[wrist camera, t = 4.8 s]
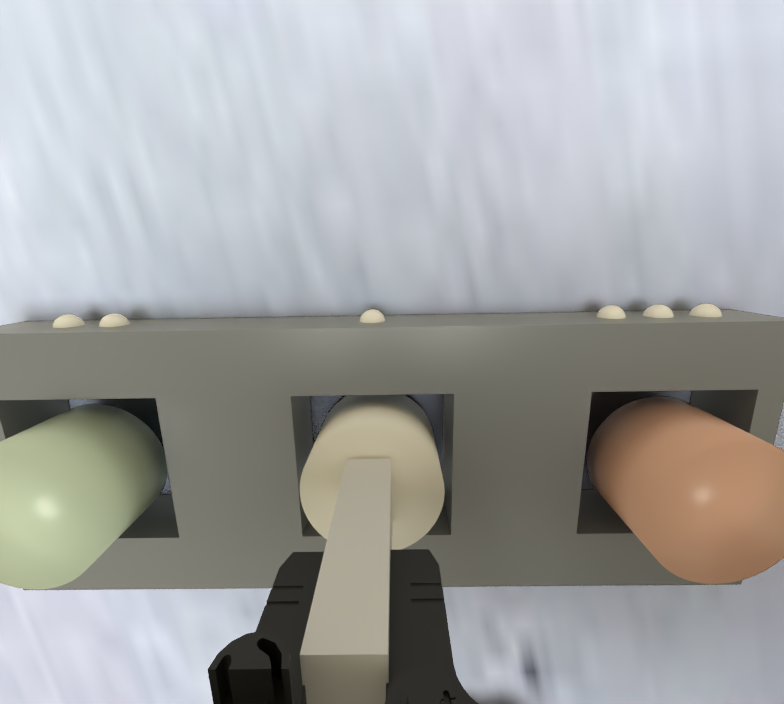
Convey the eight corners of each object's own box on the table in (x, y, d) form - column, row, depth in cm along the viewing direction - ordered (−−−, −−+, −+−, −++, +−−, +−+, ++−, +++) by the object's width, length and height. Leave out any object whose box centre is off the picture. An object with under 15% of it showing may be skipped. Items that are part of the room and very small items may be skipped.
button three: (723, 395, 15) (831, 440, 11) (701, 508, 16) (793, 583, 12) (593, 397, 15) (658, 442, 11) (580, 510, 16) (635, 584, 13)
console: (732, 298, 16) (805, 307, 13) (688, 534, 19) (741, 584, 16) (24, 310, 17) (-55, 321, 14) (79, 539, 19) (23, 589, 16)
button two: (157, 403, 15) (80, 449, 12) (176, 514, 16) (112, 589, 13) (31, 404, 15) (-85, 451, 12) (59, 515, 16) (-39, 590, 13)
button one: (434, 387, 16) (445, 424, 13) (433, 491, 18) (443, 553, 14) (316, 389, 17) (294, 427, 13) (323, 493, 18) (304, 555, 14)
